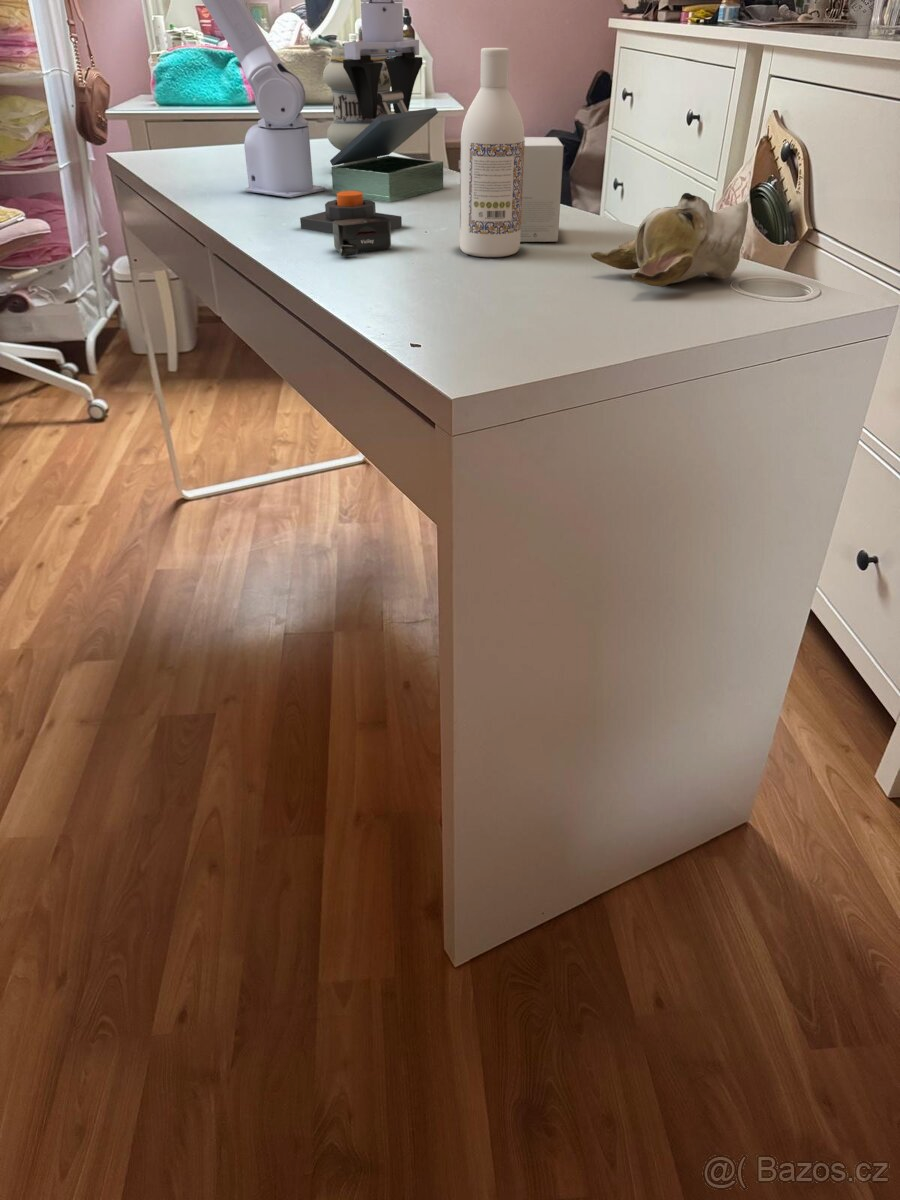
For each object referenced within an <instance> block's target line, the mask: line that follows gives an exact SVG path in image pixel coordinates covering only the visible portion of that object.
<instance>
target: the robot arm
mask: <svg viewBox="0 0 900 1200" xmlns="http://www.w3.org/2000/svg"><path fill="white" fill-rule="evenodd" d="M201 2H202V4H203V5H204V7H205V8H206V10H207V11H208V13H209V15H210V17H211V18H212V20H213V21H214V23H215V25H216V26H217V28H218V30H219V31H220V33H221V35H222V36H223V38H224V40H225V41H226V42H227V44H228V46H229V47H230V49H231V51H232V53H233V54H234V55H235V57H236V58H237V61H239V63H240V66H241V68H242V71H243V74H244V77H245V79H246V81H247V83H248V84H249V86H250V88H251V89H252V92H253V97H254V103H255V107H256V109H257V112H258V113H259V115H260V116H261V118H260V119H259V120H257V124H254V125H252V126H251V127H249V129H248V130H247V132H246V134H245V137H244V141H243V142H244V143H243V144H244V146H243V147H244V155H245V165H246V173H247V182H248V183H247V184H248V187H245V188H244V191H245V192H247V193H255V194H261V195H270V196H277V197H282V198H296V197H300V196H305V195H309V194H314V193H319V192H323V191H326V190H327V188H326V186H323V185H316V184H314V179H313V168H312V167H313V166H312V154H311V139H310V128H309V127H310V126H309V121H308V120H307V119H305V118H304V116H303V114H302V113H301V112H302V110H303V109H304V107H305V104H306V98H307V97H306V91H305V87H304V84H303V83H302V81H301V79H300V78H299V77H298V76H297V75H296V74H295V73H293V72H292V71H290V70H289V69H288V68H287V67H286V66H285V65H284V63H283V61H282V60H281V58H280V56H279V55H278V54H277V53H276V52H275V50H274V49H273V47H272V46H271V45H270V44H269V42H268V40H267V38H266V37H265V35H264V33H263V31H262V30H261V28H260V26H259V25H258V24H257V22H256V20H255V18H254V16H253V15H252V13H251V11H250V10H249V8H248V6H247V4H246V3H245V1H244V0H201ZM403 5H404V4H403V0H360V16H361V17H360V18H361V19H360V20H361V38H362V40H358V41H349V42H344V43H343V47H344V50H345V59H346V60H343V68H344V69H345V71H346V73H347V74H348V76H349V78H350V80H351V83H352V85H353V88H354V90H355V93H356V97H357V100H358V104H359V107H360V111H361V115H362V118H370V119H375V118H376V115H377V92H378V83H379V77H380V73H381V69H382V66H383V64H382V63H379V62H373V60H371V58H378V57H387V59H385V60H384V61H385V64H386V66H387V70H388V73H389V77H390V82H391V87H390V90H391V91H396V90H400V91H401V92H402V93H403V96H404V98H403V102H404V104H405V106H406V108H407V111H408V112H410V111H409V110H410V105H411V100H412V95H413V90H414V86H415V84H416V80H417V78H418V75H419V72H420V70H421V68H422V66H423V64H424V63H423V57H422V56H420V39H412V38H411V39H404V15H403V14H404V11H403V10H404V9H403ZM380 49H385V50H386V53H372V52H380ZM387 51H388V52H387ZM392 107H393V112H394V114H396V113H401V111H400V109H399V107H398V105H397V103H394V104H392Z"/></svg>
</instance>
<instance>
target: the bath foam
mask: <svg viewBox="0 0 900 1200" xmlns="http://www.w3.org/2000/svg"><path fill="white" fill-rule="evenodd" d="M509 66H510V49H509V48H508V47H482V48H481V49H480V73H479V75H480V79H479V81H480V82H479V83H480V85H479V86H480V87H479V90H478V92H477V94H476V95H475V97H474V98H473V100H472V102H471V103H470V106H469V107H468V110H467V111H466V114H465V117H464V119H463V123H462V127H461V133H460V151H459V153H460V160H459V161H460V163H459V164H460V166H459V168H460V170H459V176H460V177H459V187H460V189H459V249H460V250H461V251H462V252H463V253H464V254H467V255H469V256H473V257H480V258H503V257H509V256H512V255H515V254H516V253H518V251H519V250H520V248H521V242H520V233H521V214H522V191H523V169H524V147H525V137H526V136H525V126H524V122H523V118H522V115H521V112H520V110H519V108H518V106H517V103H516V102H515V100H514V98H513V96H512V94H511V92H510V91H509V68H510V67H509Z"/></svg>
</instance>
